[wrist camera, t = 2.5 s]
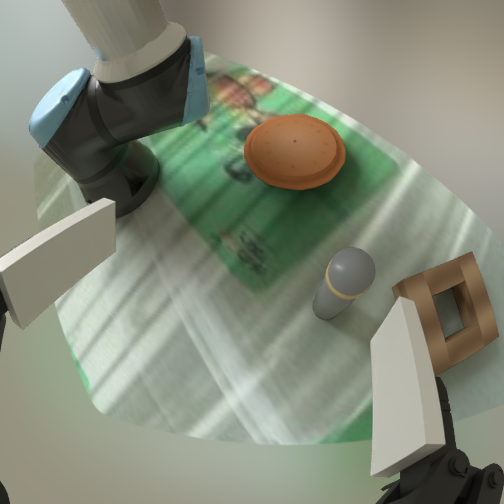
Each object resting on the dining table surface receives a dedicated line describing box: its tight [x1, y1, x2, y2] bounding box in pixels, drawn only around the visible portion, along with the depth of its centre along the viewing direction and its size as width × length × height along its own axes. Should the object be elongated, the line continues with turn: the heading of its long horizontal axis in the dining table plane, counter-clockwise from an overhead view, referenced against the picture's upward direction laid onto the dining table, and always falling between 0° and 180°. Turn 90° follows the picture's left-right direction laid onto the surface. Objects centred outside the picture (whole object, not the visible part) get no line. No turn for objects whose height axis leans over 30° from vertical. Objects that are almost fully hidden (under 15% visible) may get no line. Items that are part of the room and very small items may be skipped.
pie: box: [244, 114, 346, 190], centre depth 41 cm, size 15×16×5 cm
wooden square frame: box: [392, 252, 499, 376], centre depth 30 cm, size 13×13×4 cm
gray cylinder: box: [313, 247, 375, 320], centre depth 28 cm, size 4×4×16 cm
